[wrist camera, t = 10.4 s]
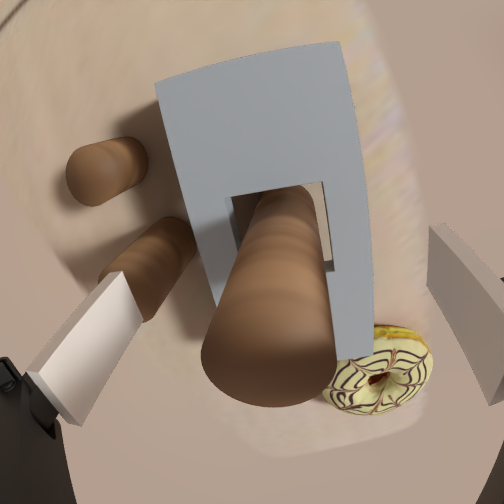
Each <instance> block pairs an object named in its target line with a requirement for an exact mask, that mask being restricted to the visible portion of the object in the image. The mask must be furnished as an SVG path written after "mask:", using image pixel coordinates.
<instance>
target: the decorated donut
mask: <svg viewBox="0 0 504 504" xmlns="http://www.w3.org/2000/svg"><path fill="white" fill-rule="evenodd" d="M432 364H433V358H432V355H431V352H430V350H429V347H428V346H427V344H426V342H425V341H424V340H423V338H422V337H421V336H420V335H419V334H417V333H416V332H414V331H412V330H410V329H407V328H404V327H398V326H392V325H384V326H374V347H373V355H372V356H366V357H359V358H353V359H346V360H338V361H337V369H336V373H335V375H334V378H333V380H332V381H331V383H330V384H329V385H328V386H327V388H326V389H325V390H323V391H322V394H323V396H324V398H325V399H326V400H327V401H328V402H329V403H330V404H331V405H332V406H334V407H335V408H337V409H339V410H341V411H344V412H346V413H350V414H355V415H363V416H365V415H380V414H385V413H387V412H389V411H391V410H393V409H395V408H397V407H399V406H401V405H402V404H404V403H405V402H406V401H408V400H410V399H412V398H413V397H414V396H415V395H416V394H417V393H418V392H419V391H420V390H421V389H422V387H423V386H424V385H425V384H426V382H427V381H428V378H429V375H430V373H431V370H432ZM376 374H379V375H377V376H372V375H376Z"/></svg>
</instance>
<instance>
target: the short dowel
mask: <svg viewBox="0 0 504 504" xmlns="http://www.w3.org/2000/svg"><path fill="white" fill-rule="evenodd" d="M147 169H148V156H147V153H146V150H145V148H144V147H143V145H142V144H141V143H140V142H139V141H138V140H136V139H134V138H132V137H128V136H124V137H118V138H114V139H110V140H106V141H102V142H98V143H94V144H90V145H86V146H83V147H80V148H78V149H77V150H75V151H74V152H73V153H72V155H71V156H70V158H69V160H68V163H67V167H66V180H67V185H68V187H69V190H70V192H71V193H72V195H73V196H74V197H75V199H76V200H78V201H79V202H80V203H82V204H84V205H86V206H91V207H93V206H99V205H101V204H103V203H104V202H106V201H108V200H110V199H111V198H113V197H115V196H117V195H118V194H120V193H122V192H124V191H126V190H127V189H129V188H131V187H133V186H135V185H136V184H138V183H139V182H141V181H142V179H143V178H144V177H145V175H146V173H147Z"/></svg>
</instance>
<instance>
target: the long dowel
mask: <svg viewBox="0 0 504 504" xmlns="http://www.w3.org/2000/svg"><path fill="white" fill-rule="evenodd" d="M201 362H202V366H203V369H204V371H205V373H206V375H207V376H208V378H209V379H210V381H211V382H212V383H213V384H214V385H215V386H216V387H217V388H218V389H220V390H221V391H222V392H224V393H225V394H227V395H228V396H230V397H232V398H234V399H236V400H238V401H241V402H244V403H247V404H251V405H255V406H261V407H287V406H292V405H296V404H300V403H303V402H305V401H308V400H310V399H312V398H314V397H315V396H317V395H318V394H320V393H321V392H322V391H323V390H325V389H326V388H327V386H328V385H329V384H330V383H331V381H332V380H333V378H334V375H335V373H336V369H337V354H336V345H335V337H334V328H333V321H332V313H331V306H330V298H329V291H328V284H327V278H326V271H325V265H324V259H323V252H322V246H321V241H320V235H319V229H318V223H317V218H316V212H315V207H314V202H313V199H312V197H311V195H310V194H309V192H308V191H307V190H306V189H305V188H303V187H302V186H300V185H296V186H290V187H283V188H278V189H272V190H266V191H264V192H263V193H262V195H261V196H260V199H259V201H258V204H257V206H256V209H255V211H254V214H253V216H252V219H251V221H250V224H249V226H248V229H247V232H246V234H245V237H244V239H243V242H242V244H241V247H240V249H239V252H238V254H237V257H236V259H235V262H234V265H233V267H232V270H231V272H230V275H229V277H228V280H227V283H226V285H225V288H224V290H223V293H222V295H221V298H220V301H219V303H218V306H217V308H216V311H215V314H214V316H213V319H212V321H211V324H210V327H209V329H208V332H207V334H206V337H205V340H204V342H203V345H202V349H201Z"/></svg>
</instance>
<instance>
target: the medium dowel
mask: <svg viewBox="0 0 504 504" xmlns="http://www.w3.org/2000/svg"><path fill="white" fill-rule="evenodd" d="M196 248H197V243H196V240H195V236H194V233H193V230H192V229H191V227H190V226H189V225H188V224H187V223H185V222H184V221H182V220H181V219H178V218H175V217H165V218H162V219H160V220H158V221H157V222H156V223H154V224H153V225H152V226H151V227H150V228H149V229H148V230H146V231H145V232H144V233H143V234H142V235H141V236H140V237H139V238H137V239H136V240H135V241H134V242H133V243H132V244H131V245H130V246H129V247H128V248H127V249H125V250H124V251H123V252H122V253H121V254H120V255H119V256H118V257H117V258H116V259H115V260H114V261H113V262H111V263H110V264H109V265H108V266H107V267H106V268H105V269H104V270H103V271H102V273H101V274H100V276H99V280H98V284H99V283H100V282H101V281H102V280H103V279H104V278H105V277H106V276H107V275H108V274H109V273H111V272H118V271H122V272H123V274H124V277H125V279H126V281H127V284H128V286H129V288H130V291H131V293H132V295H133V297H134V300H135V302H136V304H137V306H138V308H139V311H140V313H141V315H142V317H143V319H144V320H143V322H142V323H144V322H147V321H149V320H150V319H152V318H153V317H154V315H155V314H156V312H157V311H158V309H159V308H160V306H161V304H162V303H163V301H164V300H165V298H166V297H167V295H168V293H169V292H170V290H171V289H172V287H173V286H174V284H175V283H176V281H177V280H178V278H179V277H180V275H181V274H182V272H183V270H184V269H185V267H186V266H187V264H188V263H189V261H190V260H191V258H192V257H193V255H194V254H195V251H196Z"/></svg>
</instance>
